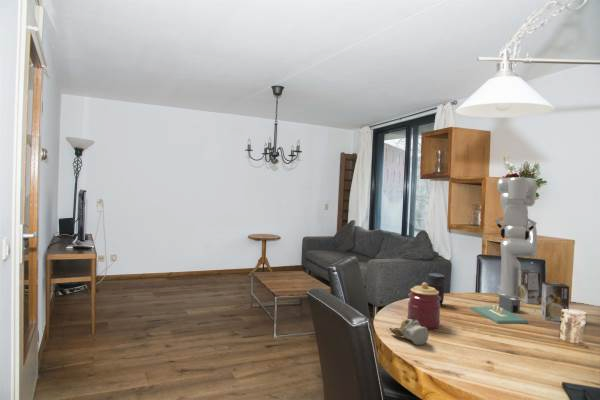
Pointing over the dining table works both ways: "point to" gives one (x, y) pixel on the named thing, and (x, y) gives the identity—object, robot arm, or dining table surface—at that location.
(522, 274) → the coffee box
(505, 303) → the block
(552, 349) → the dining table surface
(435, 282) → the camera lens
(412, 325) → the ceramic sculpture
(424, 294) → the canister
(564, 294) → the coffee box
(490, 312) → the header board
